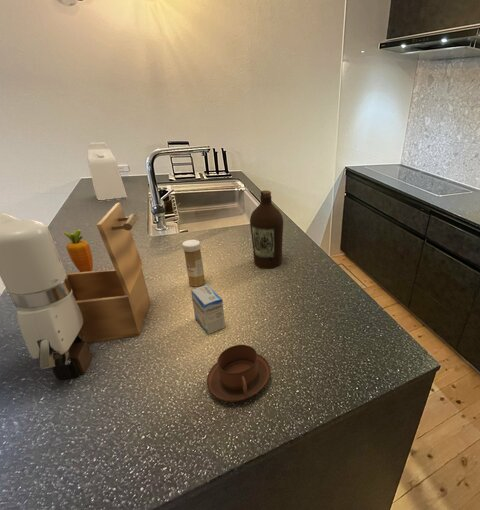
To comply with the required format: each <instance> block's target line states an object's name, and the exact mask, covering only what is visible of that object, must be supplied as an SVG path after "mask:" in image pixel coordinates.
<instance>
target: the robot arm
mask: <svg viewBox="0 0 480 510" xmlns="http://www.w3.org/2000/svg"><path fill="white" fill-rule="evenodd" d="M49 229H50V228H48V226H47V225H46V224H45V223H43V222H41V221H38V220H32V219H21V218H18V217H15V216H13V215H11V214H8V213H5V212H1V211H0V279H1V281H2V283H3V285H4V287H5V289H6V291H7V293H8V295H9V297H10V299H11V301H12V303H13V305H14V307H15V309H16V310H17V311H16V317H17V322H18V326H19V330H20V333H21V335H22V338H23V341H24V343H25V346H26V348H27V351H28V353H29V355H30V357H31V358H32V359H33V360H34V359H35V360H37V359H40V360H39V361H40V363H39V365H40V369H41V370H46V369H52V367H53V369H54V371H55V373H56V375H57V378H58V379H57V380H59V381H63V380H68V379H75V378H78V377H80V375H79V374H80V373H79V371H78V368H77V366H76V364H75V361H74V360H71V359H70V354H69V350H68V349H69V348H70V346H71V345H72V343H79V342H84V341H82V340H83V339H84V336H83V334H82V332H81V328H82V325H83V317H82V314H81V311H80V309H79V306H78V304H77V302H76V300H75V298H74V296H73V294H72V289H71V286H70V284H69V281H68V278H67V276H66V271H65V268H64V265H63V263H62V260H61V257H60V254H59V252H58V250H57V246H56V244H55V242H54V239H53V237H52V235H51V231H50V230H49ZM56 354H61V355H62V356H63V358H59V359H55V355H56Z"/></svg>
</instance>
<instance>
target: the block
mask: <svg viewBox="0 0 480 510" xmlns="http://www.w3.org/2000/svg"><path fill="white" fill-rule="evenodd" d="M68 350H69V354H70V359H71V360H74V361H75V364H76V366H77V368H78V371H79V373H80V374H79V376H81V375H85V374H86V372H87V370H88V368H89V366H90V364H91V362H92V360H93V355H92V353H91V350H90V347H89V345H88V343H87V342H86V341H85V342H79V343H72V345H71V346H70V348H69V349H68ZM59 358H63V356H62V355H61V354H56V355H55V359H59ZM51 370H52V373H53V374H54V377H55V378H56V379H57V380H59V379H58V378H57V375H56V373H55V371H54V369H53V367H52V368H51Z"/></svg>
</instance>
